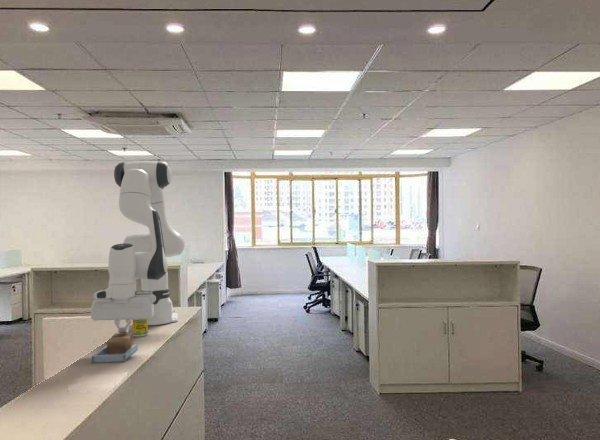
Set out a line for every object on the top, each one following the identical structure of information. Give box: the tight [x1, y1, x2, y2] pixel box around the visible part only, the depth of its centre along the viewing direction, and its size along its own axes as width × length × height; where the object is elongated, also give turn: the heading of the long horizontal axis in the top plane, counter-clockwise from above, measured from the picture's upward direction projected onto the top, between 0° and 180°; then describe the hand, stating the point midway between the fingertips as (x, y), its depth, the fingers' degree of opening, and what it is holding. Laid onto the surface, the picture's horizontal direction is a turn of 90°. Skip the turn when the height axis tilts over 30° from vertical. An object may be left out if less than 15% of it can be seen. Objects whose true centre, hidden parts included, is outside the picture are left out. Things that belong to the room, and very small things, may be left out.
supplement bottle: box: [132, 319, 149, 338], centre depth 174 cm, size 5×5×10 cm
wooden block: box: [106, 332, 135, 354], centre depth 151 cm, size 4×6×8 cm
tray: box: [91, 343, 139, 364], centre depth 146 cm, size 13×10×2 cm
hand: (123, 332), depth 154 cm, fingers closed
